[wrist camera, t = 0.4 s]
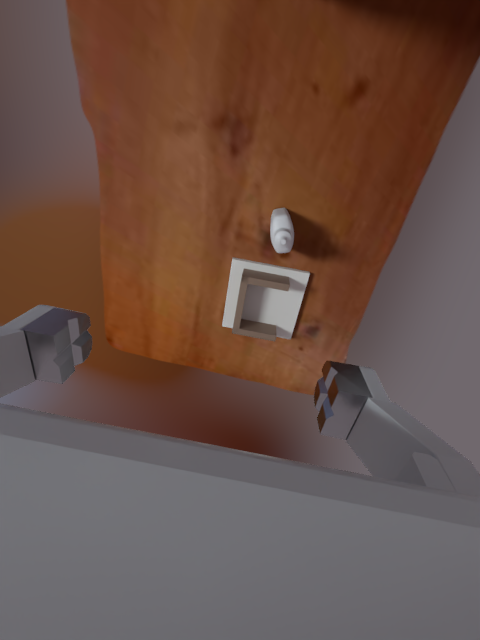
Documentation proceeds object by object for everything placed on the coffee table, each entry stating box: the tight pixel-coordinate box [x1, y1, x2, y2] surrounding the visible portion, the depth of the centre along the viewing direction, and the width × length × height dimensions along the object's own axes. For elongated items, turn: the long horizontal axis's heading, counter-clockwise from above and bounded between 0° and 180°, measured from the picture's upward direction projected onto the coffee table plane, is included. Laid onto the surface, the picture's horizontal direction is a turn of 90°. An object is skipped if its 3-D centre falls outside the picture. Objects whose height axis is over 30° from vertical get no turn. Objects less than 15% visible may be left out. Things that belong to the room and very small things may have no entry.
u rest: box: [222, 258, 310, 341], centre depth 53 cm, size 14×14×5 cm
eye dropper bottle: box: [270, 208, 294, 253], centre depth 43 cm, size 4×6×12 cm
